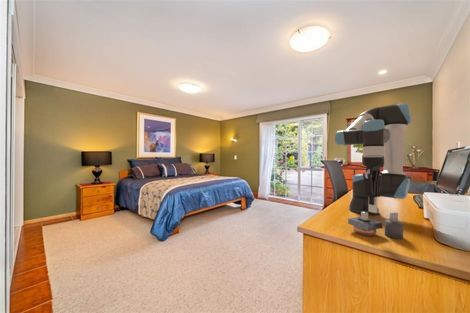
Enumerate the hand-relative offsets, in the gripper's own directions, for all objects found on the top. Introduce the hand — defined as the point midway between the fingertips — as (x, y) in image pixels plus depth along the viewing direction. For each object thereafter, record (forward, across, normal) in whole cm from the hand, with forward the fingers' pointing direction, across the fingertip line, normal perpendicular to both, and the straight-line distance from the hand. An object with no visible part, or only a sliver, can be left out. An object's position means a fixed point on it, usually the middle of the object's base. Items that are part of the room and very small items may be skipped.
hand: (372, 211), depth 82 cm
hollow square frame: (+7, -1, -4) cm, 8 cm away
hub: (+10, -1, -4) cm, 11 cm away
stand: (+10, -7, +5) cm, 14 cm away
